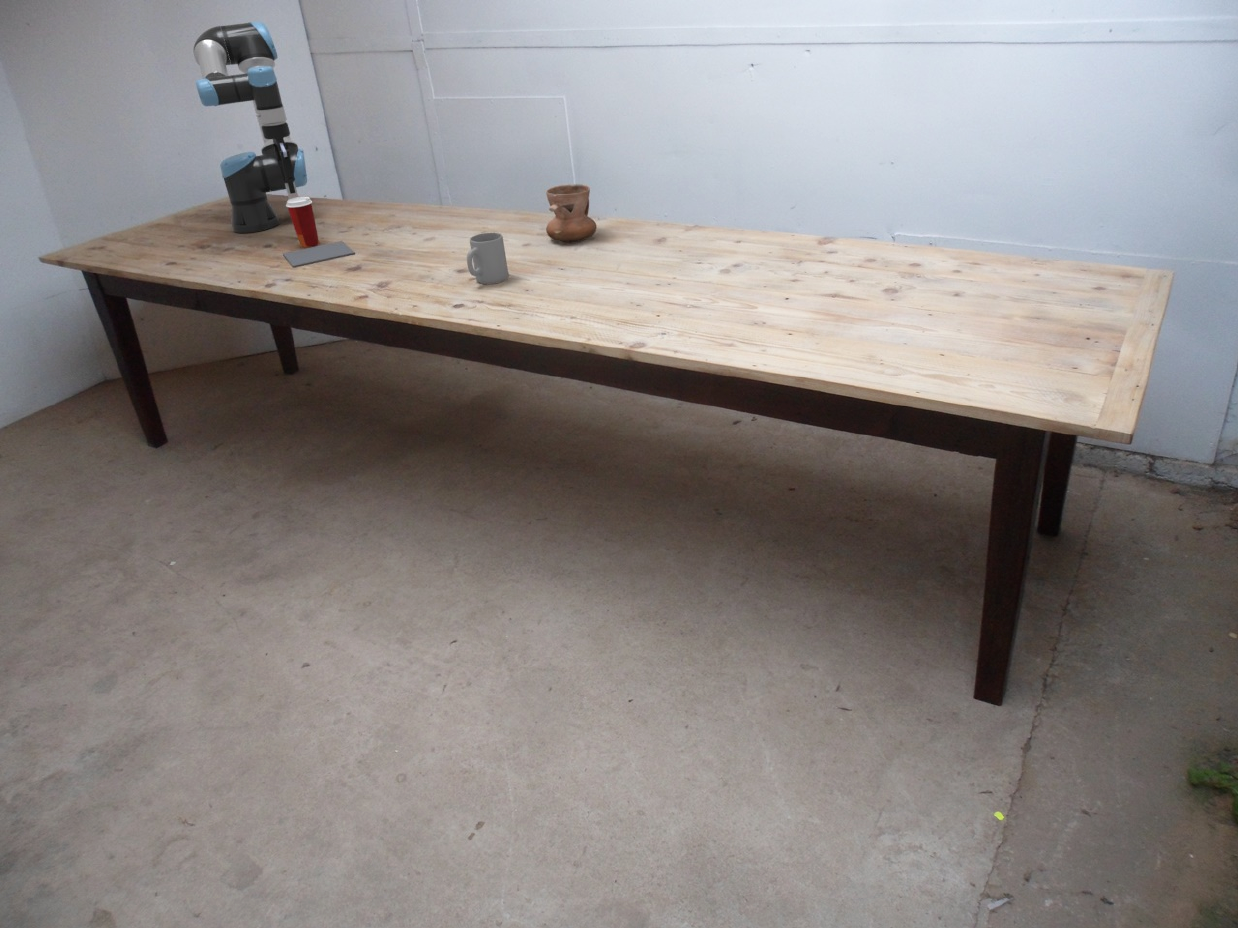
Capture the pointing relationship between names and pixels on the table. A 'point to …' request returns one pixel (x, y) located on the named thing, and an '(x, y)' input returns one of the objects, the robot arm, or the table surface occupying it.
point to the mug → (487, 258)
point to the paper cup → (303, 221)
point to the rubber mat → (318, 254)
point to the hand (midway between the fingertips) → (295, 203)
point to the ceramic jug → (570, 213)
